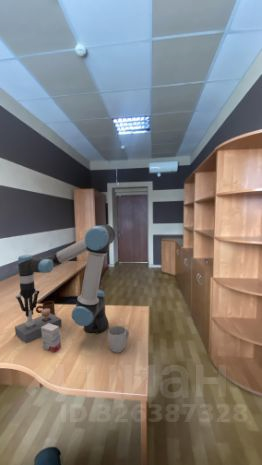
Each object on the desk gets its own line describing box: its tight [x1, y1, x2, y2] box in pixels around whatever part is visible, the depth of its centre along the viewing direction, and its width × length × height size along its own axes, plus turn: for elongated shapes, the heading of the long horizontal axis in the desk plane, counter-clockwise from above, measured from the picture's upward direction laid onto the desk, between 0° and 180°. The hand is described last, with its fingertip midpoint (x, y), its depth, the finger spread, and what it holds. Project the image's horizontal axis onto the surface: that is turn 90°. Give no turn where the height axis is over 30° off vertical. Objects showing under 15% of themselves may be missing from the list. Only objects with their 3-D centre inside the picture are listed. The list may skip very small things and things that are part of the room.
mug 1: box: [35, 300, 56, 316], centre depth 147 cm, size 12×8×9 cm, turn 124°
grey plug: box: [24, 318, 35, 329], centre depth 126 cm, size 5×5×8 cm
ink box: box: [41, 323, 62, 353], centre depth 113 cm, size 9×5×12 cm, turn 62°
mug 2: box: [107, 325, 130, 353], centre depth 112 cm, size 13×9×10 cm
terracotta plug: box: [41, 308, 50, 322], centre depth 134 cm, size 5×5×8 cm
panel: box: [14, 313, 63, 344], centre depth 130 cm, size 14×22×5 cm, turn 139°
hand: (29, 320), depth 126 cm, fingers closed
